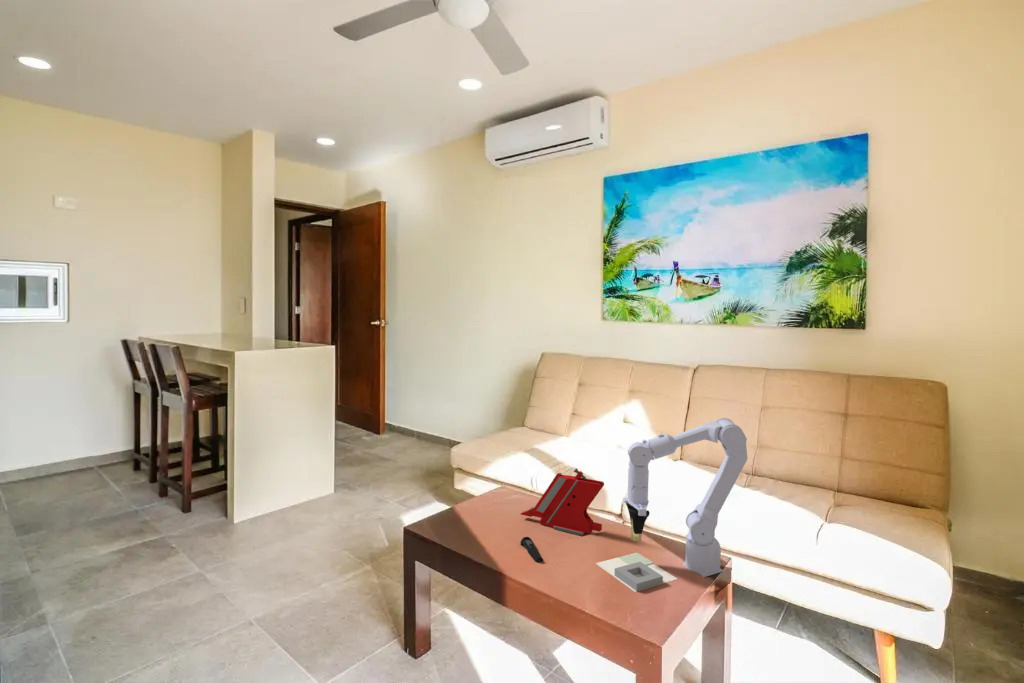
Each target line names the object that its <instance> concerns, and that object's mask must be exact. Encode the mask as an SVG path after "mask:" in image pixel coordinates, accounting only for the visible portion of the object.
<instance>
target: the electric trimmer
mask: <svg viewBox="0 0 1024 683" xmlns="http://www.w3.org/2000/svg"><path fill="white" fill-rule="evenodd" d="M520 545H521V546H523V547H524V549H526V551H527V553H528V554H529V556H530V557H531V558H532V560H533V561H534V562H535V563H538V562H539V561H540V562H544V560H543V557H542V556H541V554H540V552H539V550H538V549H537V546H536V544H535V543H534V541H533V540H532V538H531V537H529V536H524V537H522V538H521V541H520Z"/></svg>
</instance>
